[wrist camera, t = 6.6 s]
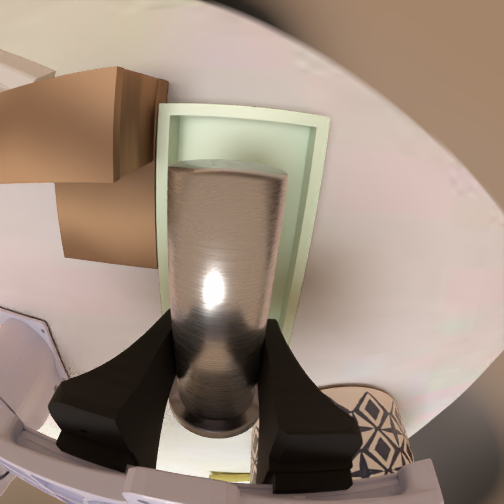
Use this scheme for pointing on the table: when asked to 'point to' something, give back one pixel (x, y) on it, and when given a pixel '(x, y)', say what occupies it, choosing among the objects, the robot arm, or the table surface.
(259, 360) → the pin
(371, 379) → the table surface
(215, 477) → the key
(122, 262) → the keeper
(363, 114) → the table surface
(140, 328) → the table surface
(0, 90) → the white curved plastic device
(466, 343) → the table surface
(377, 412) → the planter
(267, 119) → the tray
